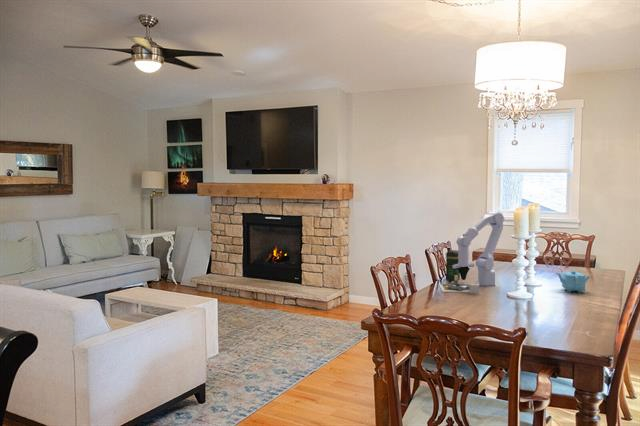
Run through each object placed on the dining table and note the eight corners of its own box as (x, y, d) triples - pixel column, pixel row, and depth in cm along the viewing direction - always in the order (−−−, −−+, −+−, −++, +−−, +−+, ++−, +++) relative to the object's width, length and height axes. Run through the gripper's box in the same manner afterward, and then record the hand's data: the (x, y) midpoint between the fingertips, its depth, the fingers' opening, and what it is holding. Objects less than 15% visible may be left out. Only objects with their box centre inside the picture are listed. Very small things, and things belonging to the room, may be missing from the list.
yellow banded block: (477, 292, 288) (478, 283, 288) (479, 294, 285) (479, 284, 285) (468, 292, 288) (468, 283, 288) (469, 294, 285) (469, 284, 285)
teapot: (593, 294, 280) (594, 273, 279) (558, 293, 283) (558, 273, 283) (585, 288, 295) (585, 268, 294) (551, 287, 299) (551, 268, 298)
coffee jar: (456, 281, 322) (456, 251, 321) (444, 280, 326) (444, 251, 325) (461, 278, 330) (461, 249, 329) (449, 277, 334) (449, 249, 333)
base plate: (471, 285, 308) (471, 284, 308) (477, 292, 289) (477, 291, 289) (438, 285, 310) (438, 284, 310) (442, 292, 291) (442, 291, 291)
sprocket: (468, 284, 307) (468, 274, 307) (474, 290, 290) (474, 279, 290) (441, 284, 309) (441, 274, 308) (445, 290, 291) (445, 279, 291)
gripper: (468, 255, 312) (468, 277, 312) (449, 256, 306) (449, 279, 306) (476, 256, 305) (476, 279, 306) (456, 258, 299) (456, 281, 300)
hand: (463, 279), depth 306 cm, fingers closed
